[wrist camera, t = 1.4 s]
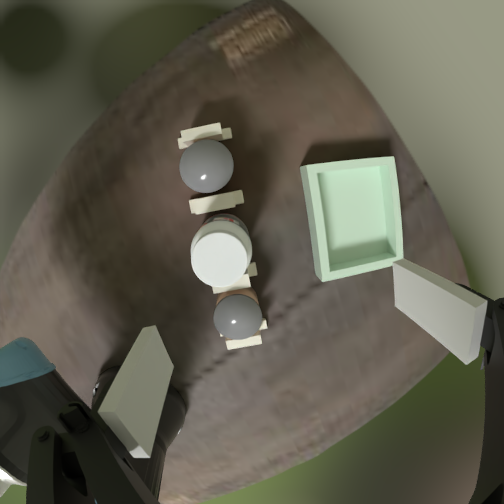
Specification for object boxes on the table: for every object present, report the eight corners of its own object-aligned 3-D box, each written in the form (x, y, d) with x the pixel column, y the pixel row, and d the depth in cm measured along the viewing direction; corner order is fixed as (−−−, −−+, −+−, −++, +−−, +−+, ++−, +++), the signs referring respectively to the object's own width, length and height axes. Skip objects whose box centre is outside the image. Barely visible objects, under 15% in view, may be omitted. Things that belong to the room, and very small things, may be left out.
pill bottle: (201, 210, 32) (187, 221, 22) (251, 215, 32) (258, 227, 22) (197, 259, 33) (183, 289, 23) (246, 263, 33) (251, 295, 24)
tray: (315, 274, 34) (322, 282, 31) (299, 166, 31) (306, 165, 28) (391, 256, 34) (403, 262, 31) (381, 157, 31) (393, 156, 28)
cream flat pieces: (220, 334, 35) (219, 350, 31) (178, 139, 29) (170, 133, 26) (266, 326, 35) (270, 341, 31) (230, 128, 30) (229, 120, 26)
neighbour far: (221, 322, 35) (219, 343, 30) (211, 285, 34) (208, 301, 29) (261, 315, 35) (265, 335, 30) (254, 277, 34) (257, 292, 29)
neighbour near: (192, 195, 31) (184, 197, 26) (184, 151, 30) (175, 146, 25) (237, 186, 31) (238, 186, 26) (229, 142, 30) (228, 134, 25)
